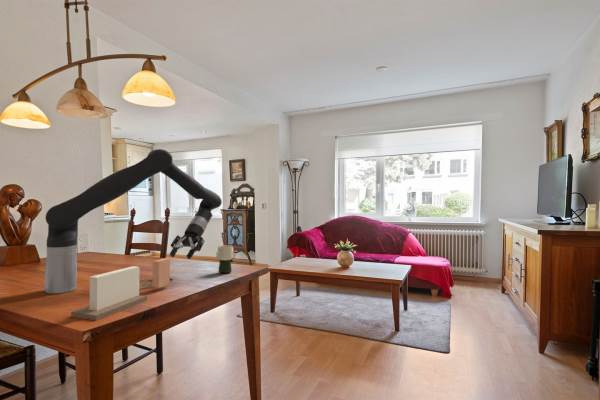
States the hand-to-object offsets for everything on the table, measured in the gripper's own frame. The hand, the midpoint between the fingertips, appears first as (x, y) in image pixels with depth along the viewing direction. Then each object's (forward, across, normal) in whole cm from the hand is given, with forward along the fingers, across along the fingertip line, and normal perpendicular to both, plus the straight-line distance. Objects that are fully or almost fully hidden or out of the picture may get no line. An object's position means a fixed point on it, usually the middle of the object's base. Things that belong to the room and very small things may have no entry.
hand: (179, 257), depth 130 cm
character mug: (-7, +10, +23) cm, 26 cm away
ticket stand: (+31, +1, -16) cm, 35 cm away
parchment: (+14, -12, +2) cm, 18 cm away
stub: (+14, 0, -2) cm, 14 cm away
